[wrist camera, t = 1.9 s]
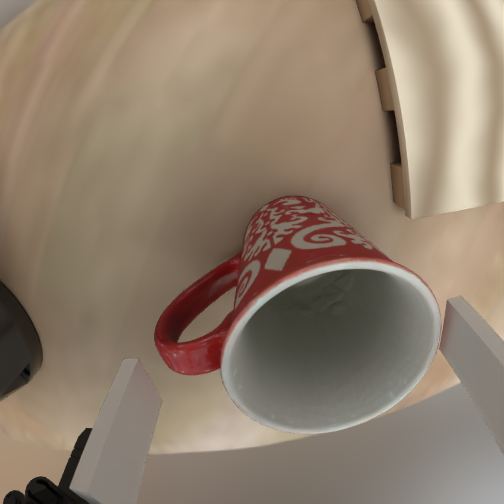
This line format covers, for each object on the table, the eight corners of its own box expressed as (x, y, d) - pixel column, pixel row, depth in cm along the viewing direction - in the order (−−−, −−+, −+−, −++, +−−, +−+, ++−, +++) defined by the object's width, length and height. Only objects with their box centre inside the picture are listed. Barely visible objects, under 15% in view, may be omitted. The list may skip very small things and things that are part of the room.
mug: (348, 174, 22) (459, 242, 9) (352, 285, 25) (421, 410, 13) (174, 199, 22) (92, 294, 10) (200, 306, 26) (170, 447, 13)
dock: (394, 208, 22) (411, 219, 20) (350, -17, 16) (363, -32, 13) (534, 183, 21) (553, 191, 19) (509, 11, 14) (528, 7, 12)
